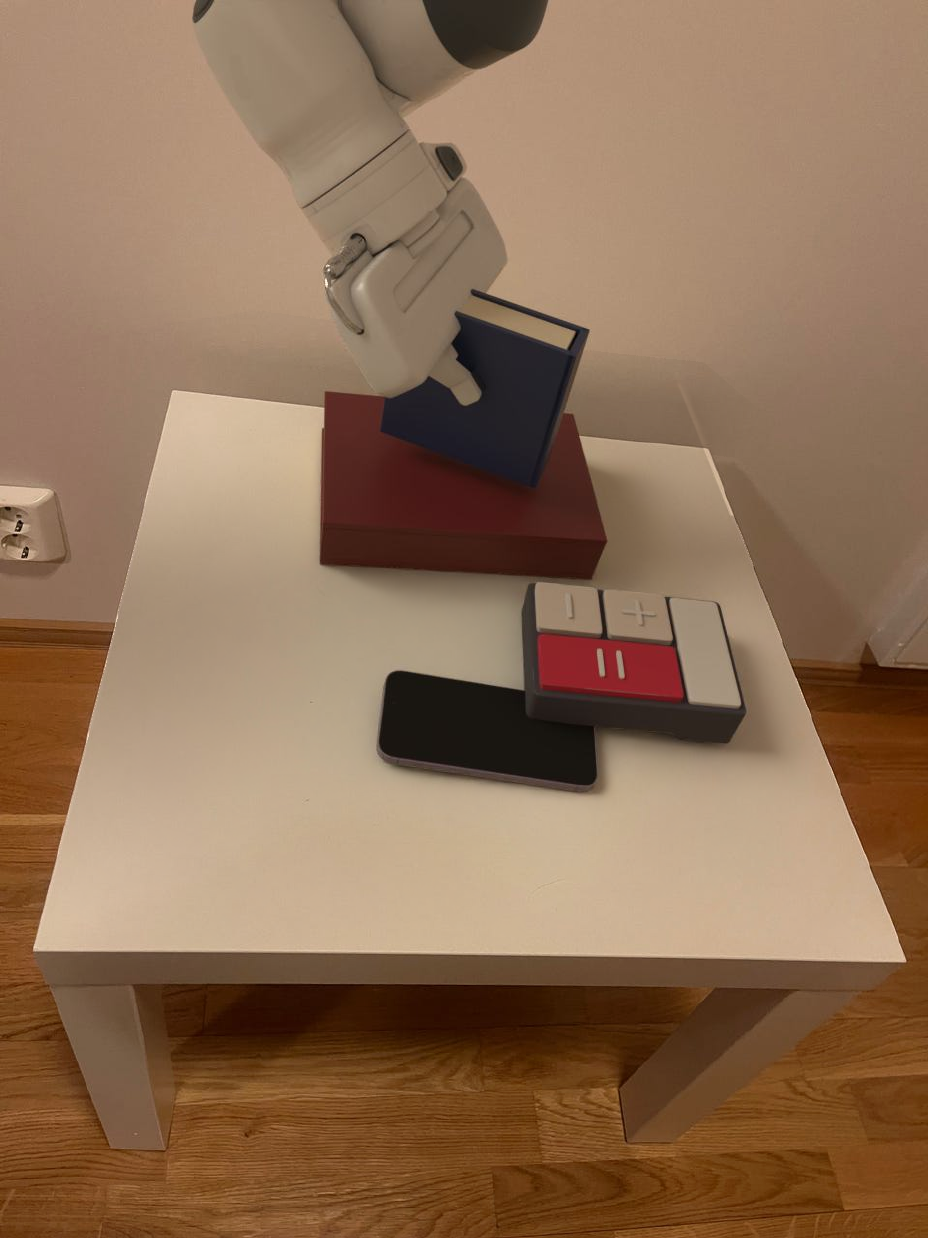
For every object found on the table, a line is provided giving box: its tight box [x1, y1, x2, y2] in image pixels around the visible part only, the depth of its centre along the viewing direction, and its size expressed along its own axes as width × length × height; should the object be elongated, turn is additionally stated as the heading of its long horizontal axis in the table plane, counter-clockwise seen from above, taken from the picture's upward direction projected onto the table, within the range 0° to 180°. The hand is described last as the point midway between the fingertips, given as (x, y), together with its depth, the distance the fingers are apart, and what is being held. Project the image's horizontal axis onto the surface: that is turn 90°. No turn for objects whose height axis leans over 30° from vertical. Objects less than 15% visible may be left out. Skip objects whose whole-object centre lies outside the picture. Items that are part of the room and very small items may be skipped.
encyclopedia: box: [319, 390, 608, 580], centre depth 76 cm, size 22×16×4 cm
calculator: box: [521, 581, 748, 744], centre depth 66 cm, size 11×4×15 cm
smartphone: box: [375, 669, 599, 793], centre depth 62 cm, size 7×1×15 cm
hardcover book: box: [380, 289, 591, 488], centre depth 68 cm, size 4×13×12 cm, turn 71°
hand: (486, 379), depth 68 cm, fingers closed on hardcover book, 4 cm apart
